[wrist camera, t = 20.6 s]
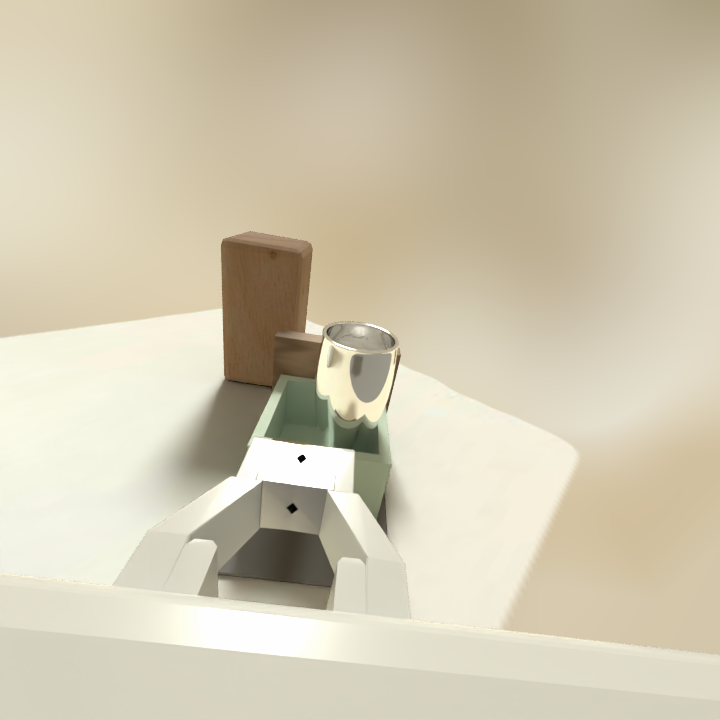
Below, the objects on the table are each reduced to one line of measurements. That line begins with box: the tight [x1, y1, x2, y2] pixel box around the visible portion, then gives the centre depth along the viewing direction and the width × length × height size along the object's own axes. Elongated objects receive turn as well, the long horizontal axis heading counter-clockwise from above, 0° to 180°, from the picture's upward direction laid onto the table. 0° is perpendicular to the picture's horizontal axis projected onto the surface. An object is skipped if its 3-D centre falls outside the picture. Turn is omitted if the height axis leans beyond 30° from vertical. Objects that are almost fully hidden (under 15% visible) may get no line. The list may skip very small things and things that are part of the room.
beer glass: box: [314, 321, 399, 453], centre depth 31 cm, size 7×7×15 cm
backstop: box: [218, 329, 401, 587], centre depth 32 cm, size 14×20×12 cm
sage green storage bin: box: [247, 374, 392, 520], centre depth 34 cm, size 12×12×7 cm
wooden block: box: [221, 231, 313, 386], centre depth 48 cm, size 10×10×20 cm
